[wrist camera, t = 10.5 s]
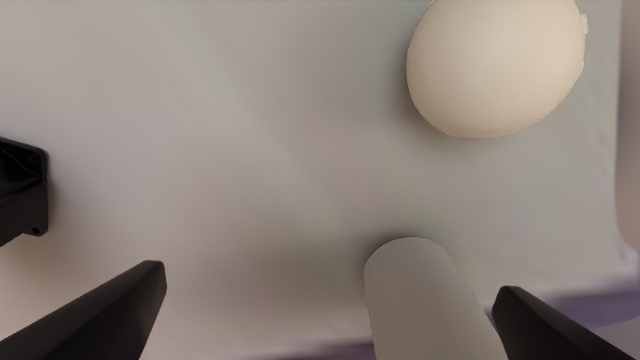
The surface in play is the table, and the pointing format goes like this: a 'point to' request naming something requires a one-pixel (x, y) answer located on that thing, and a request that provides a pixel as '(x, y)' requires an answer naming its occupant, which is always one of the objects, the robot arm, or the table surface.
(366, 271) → the beverage can
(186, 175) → the table surface
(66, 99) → the table surface
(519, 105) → the beige round lump
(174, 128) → the table surface
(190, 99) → the table surface
